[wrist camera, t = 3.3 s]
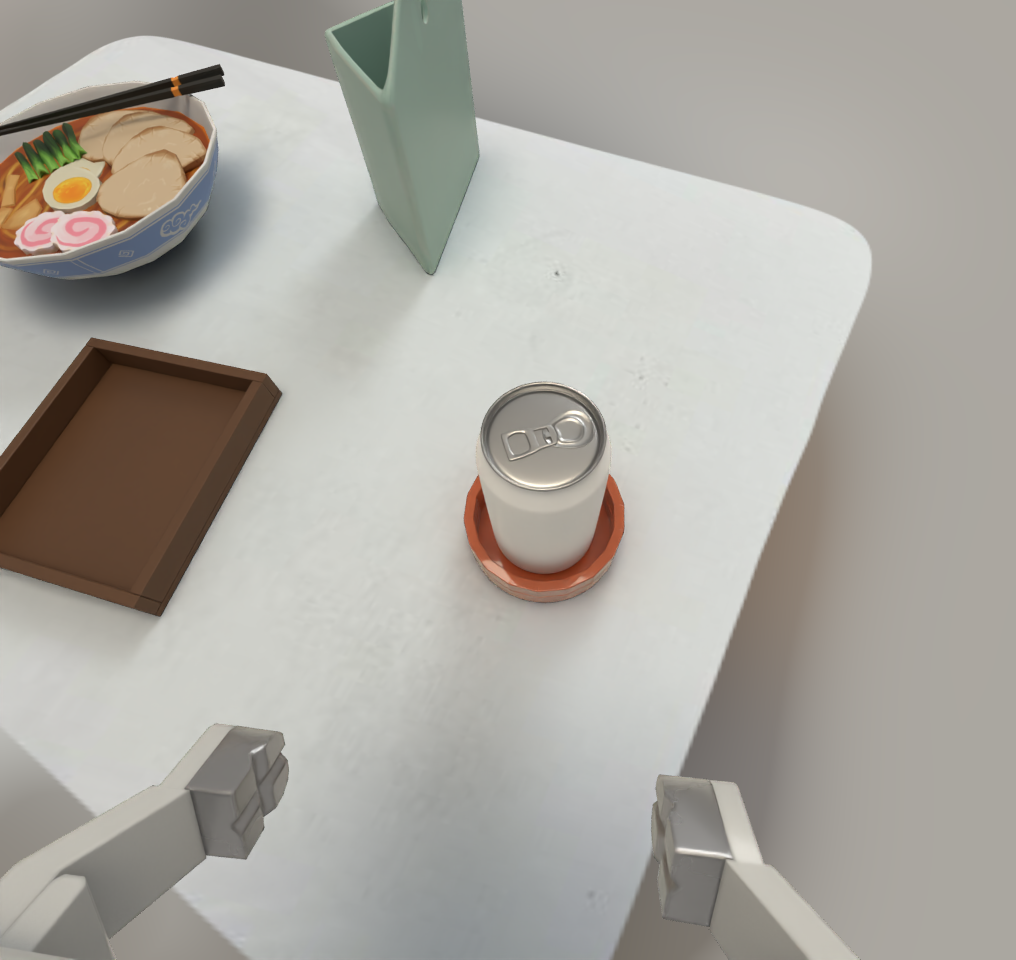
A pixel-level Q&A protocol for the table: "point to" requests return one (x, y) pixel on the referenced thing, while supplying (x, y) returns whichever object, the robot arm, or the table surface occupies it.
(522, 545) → the can
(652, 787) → the table surface
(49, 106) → the ramen bowl
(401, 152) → the planter
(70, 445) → the tray
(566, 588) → the bowl
